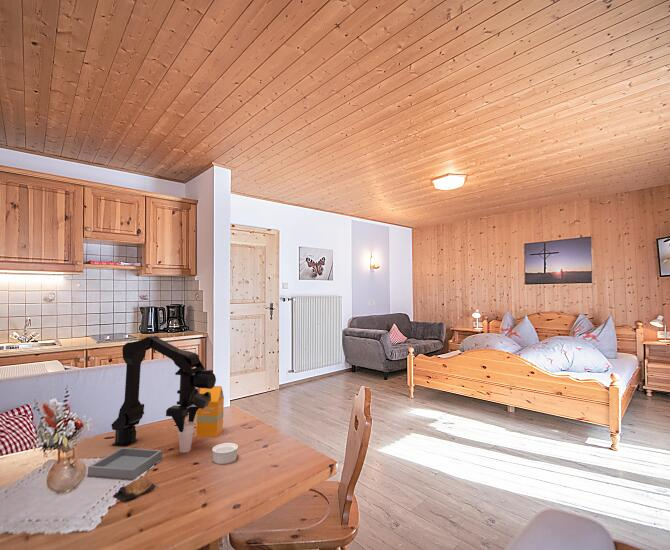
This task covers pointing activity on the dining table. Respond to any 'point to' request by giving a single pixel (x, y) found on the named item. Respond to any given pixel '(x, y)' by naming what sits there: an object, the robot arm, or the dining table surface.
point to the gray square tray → (125, 463)
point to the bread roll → (135, 490)
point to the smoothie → (186, 436)
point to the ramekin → (224, 453)
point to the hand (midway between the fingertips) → (186, 428)
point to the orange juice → (211, 414)
